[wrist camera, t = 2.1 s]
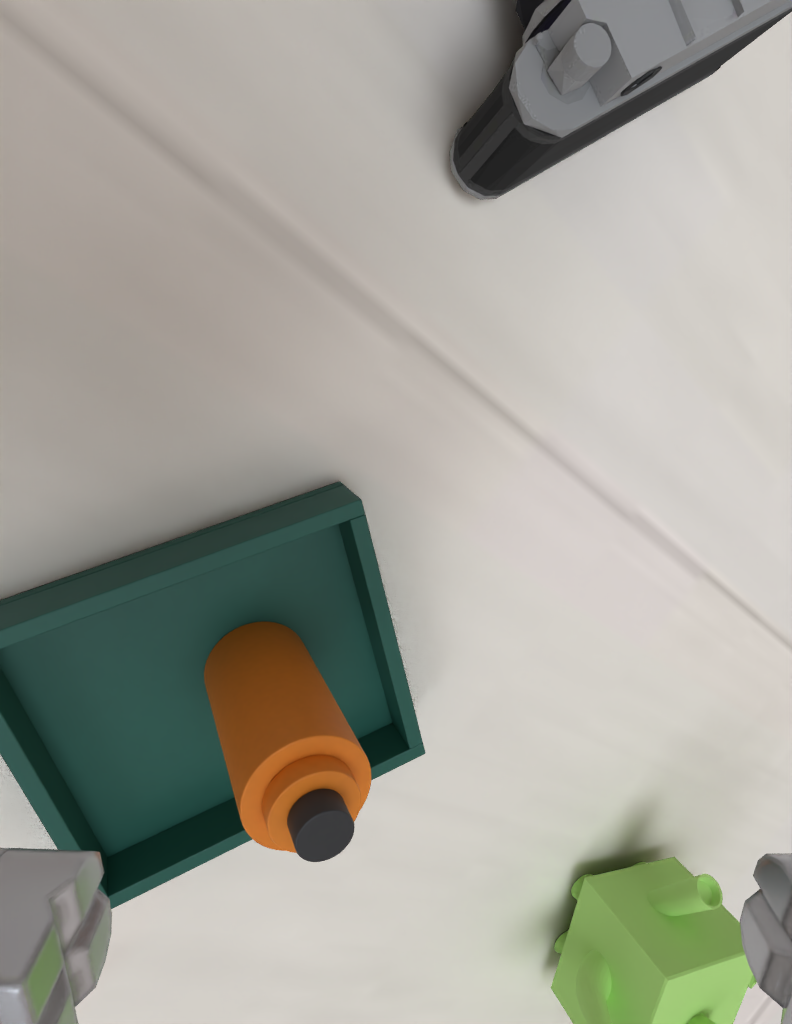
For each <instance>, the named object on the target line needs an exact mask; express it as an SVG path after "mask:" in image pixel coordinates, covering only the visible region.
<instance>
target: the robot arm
mask: <svg viewBox="0 0 792 1024" xmlns="http://www.w3.org/2000/svg"><path fill="white" fill-rule="evenodd" d="M103 874H104V868H103V864H102V859H101V855H100V852H96V851H81V850H52V849H22V848H0V1024H78V1020H77V1016H76V1011H75V1006H77V1005H78V1004H79V1003H80V1002H81V1001H82V1000H83V999H84V998H85V997H86V996H87V995H88V994H89V993H90V992H91V991H92V990H93V989H94V988H96V985H97V982H98V980H99V977H100V974H101V972H102V969H103V966H104V963H105V960H106V956H107V951H108V946H109V941H110V937H111V924H112V912H111V906H110V899H109V898H108V897H107V896H106V895H105V894H104V893H102V892H101V891H100V890H99V889H98V886H99V883H100V881H101V879H102V877H103ZM753 876H754V878H755V880H756V882H757V883H758V885H759V887H760V888H761V889H759V890H758V891H757V892H756V893H755V894H753V895H752V896H751V897H750V898H748V899H747V900H746V901H745V903H744V907H743V911H742V915H741V918H740V928H741V938H742V946H743V949H744V952H745V955H746V958H747V961H748V965H749V967H750V969H751V971H752V973H753V975H754V977H755V979H756V981H757V983H758V985H759V987H760V988H761V989H762V990H763V991H764V992H765V993H766V994H768V995H769V996H770V997H771V998H772V999H773V1000H774V1001H776V1002H777V1003H778V1004H779V1005H780V1006H781V1007H782V1008H783V1011H782V1019H781V1024H792V853H789V854H765V855H764V856H763V857H762V858H761V859H759V860H758V862H757V865H756V868H755V871H754V874H753Z"/></svg>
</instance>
